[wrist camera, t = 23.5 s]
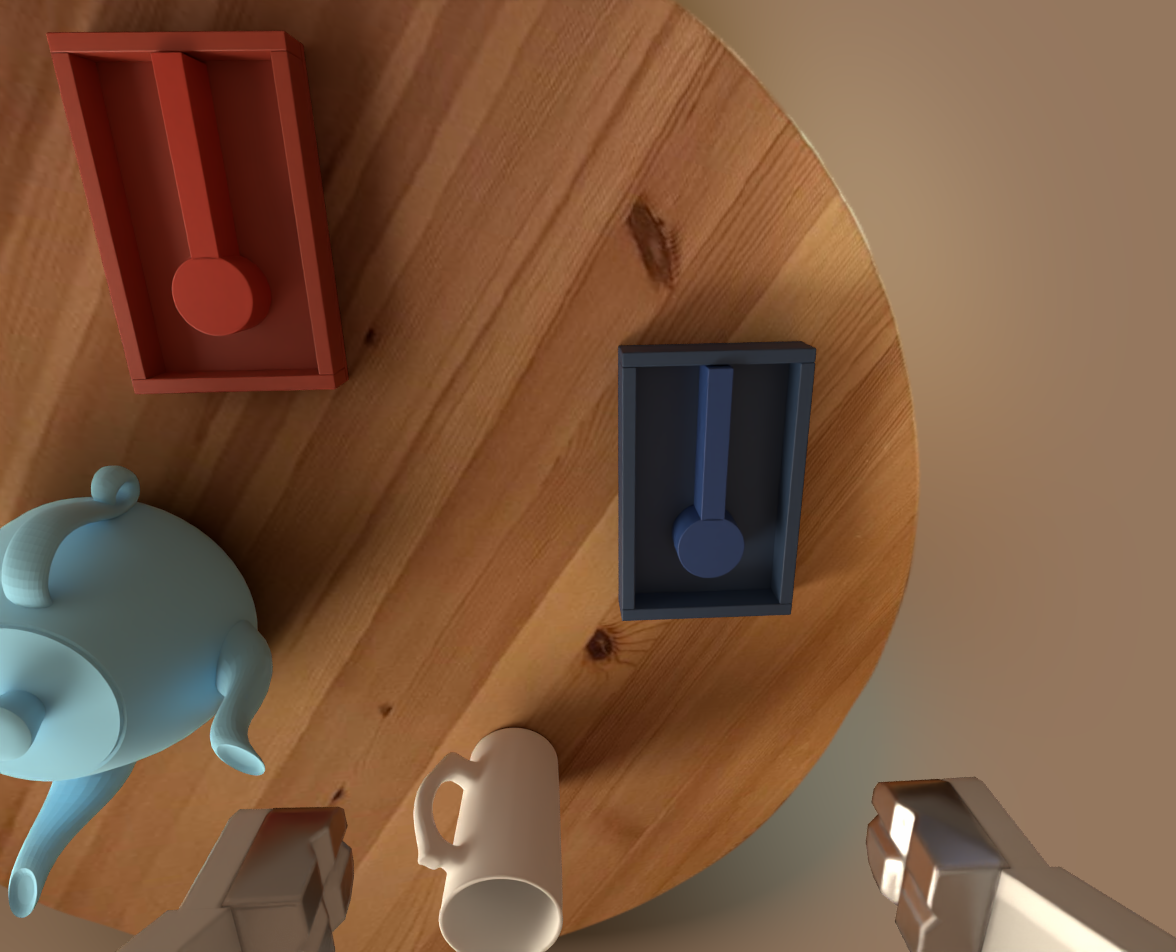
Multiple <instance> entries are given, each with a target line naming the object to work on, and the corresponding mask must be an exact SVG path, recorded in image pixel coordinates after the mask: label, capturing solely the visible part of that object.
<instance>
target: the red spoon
mask: <svg viewBox="0 0 1176 952" xmlns="http://www.w3.org/2000/svg"><path fill="white" fill-rule="evenodd" d="M151 59H152V64H153V69H154V74H155V79H156V84H157V89H158V94H159V99H160V104H161V109H162V114H163V119H164V124H165V129H166V134H167V139H168V144H169V149H170V154H171V159H172V164H173V169H174V174H175V179H176V184H177V189H178V194H179V199H180V204H181V209H182V214H183V219H184V224H185V229H186V234H187V239H188V244H189V249H190V254H191V258H189V259H188V260H186V261H185V262H183V263H182V264H181V265H180V266H179V268H178V269H177V271H176V273H175V275H174V278H173V281H172V295H173V300H174V303H175V305H176V308H177V309H178V311H179V313H180V314H181V316H182V317H183V318H184V319H185V320H186V321H187V322H188V323H189V324H190V325H191V326H192V327H194V328H195V329H197V330H199V331H201V332H203V333H205V334H209V335H213V336H227V335H231V334H235V333H238V332H241V331H244V330H247V329H250V328H253V327H255V326H257V325H258V324H259V323H261V322H262V321H263V320H264V319H265V317H266V316H267V314H268V312H269V309H270V306H271V290H270V286H269V283H268V281H267V279H266V277H265V275H264V274H263V272H262V271H261V270H260V269H259V268H258V267H257V266H256V265H255V264H254V263H253V262H251V261H250V260H248V259H247V258H245V257H242V256H240V253H239V247H238V241H237V236H236V230H235V224H234V219H233V213H232V207H231V202H230V196H229V190H228V185H227V179H226V173H225V168H224V162H223V156H222V151H221V145H220V139H219V133H218V128H217V122H216V116H215V111H214V105H213V99H212V94H211V88H210V82H209V77H208V71H207V65H206V64H204V63H202V62H200V61H198V60H196V59H194V58H192V57H190V56H188V55H185V54H183V53H181V52H151Z"/></svg>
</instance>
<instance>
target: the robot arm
mask: <svg viewBox="0 0 1176 952" xmlns="http://www.w3.org/2000/svg"><path fill="white" fill-rule="evenodd" d="M872 804H873V806H874V808H875V810H876V811H877V813H878V815H877V816H876V817H875V818H874V819H873V820H872V821H871V822H870V823H869V824H868V829H867V837H866V846H867V854H868V861H869V865H870V868H871V871H872V874H873V877H874V879H875V881H876V883H877V886H878V888H879V890H880V892H881V893H882V894H883V895H885V896H886V897H887V898H888V899H889V900H891V901H892V902H893V903H894V904H896V905H897V906H898V907H897V913H896V919H895V923H896V925H897V927H898V929H899V931H900V933H901V935H902V937H903V939H904V940H905V943H906V945H907V947H908V949H909V951H910V952H1176V938H1175V937H1173V936H1172V935H1170V934H1169V933H1167V932H1166V931H1164V930H1162V929H1161V928H1159V927H1157V926H1156V925H1154V924H1153V923H1151V922H1149V921H1148V920H1146V919H1144V918H1142V917H1141V916H1140V915H1138V914H1136V913H1134V912H1133V911H1131V910H1130V909H1128V908H1126V907H1125V906H1123V905H1121V904H1120V903H1118V902H1117V901H1115V900H1113V899H1112V898H1110V897H1108V896H1107V895H1105V894H1103V893H1102V892H1100V891H1099V890H1097V889H1095V888H1094V887H1092V886H1090V885H1089V884H1087V883H1086V882H1084V881H1082V880H1081V879H1079V878H1078V877H1076V876H1074V875H1073V874H1071V873H1069V872H1068V871H1066V870H1065V869H1063V868H1061V867H1049V865H1048V864H1047V863H1046V861H1045V860H1044V859H1043V858H1042V856H1041V855H1040V854H1039V853H1038V851H1037V850H1036V849H1035V847H1034V846H1033V845H1032V844H1031V842H1030V841H1029V840H1028V838H1027V837H1026V836H1025V835H1024V833H1023V832H1022V831H1021V830H1020V828H1019V827H1018V826H1017V824H1016V823H1015V822H1014V821H1013V819H1012V818H1011V817H1010V816H1009V814H1008V813H1007V812H1006V810H1005V809H1004V808H1003V807H1002V805H1001V804H1000V803H999V802H998V800H997V799H996V798H995V797H994V795H993V794H992V793H991V791H990V790H989V789H988V788H987V786H986V785H985V784H984V783H983V782H982V781H981V780H979V779H978V778H976V777H964V778H946V779H942V780H940V779H930V780H911V781H894V782H878V784H877V785H876V787H875V788H874V791H873V796H872ZM346 829H347V821H346V817H345V812H344V809H343V808H340V807H300V808H273V809H240V810H238V811H237V812H236V813H235V814H234V815H233V816H232V817H231V818H230V819H229V821H228V823H227V824H226V826H225V828H224V830H223V831H222V833H221V835H220V837H219V839H218V840H217V842H216V844H215V846H214V847H213V849H212V851H211V853H210V855H209V856H208V858H207V860H206V862H205V863H204V865H203V867H202V869H201V870H200V872H199V874H198V876H197V878H196V879H195V881H194V883H193V885H192V886H191V888H190V890H189V892H188V894H187V895H186V897H185V899H184V901H183V902H182V904H181V906H180V908H179V910H168V911H166V912H165V913H164V914H162V915H161V916H160V917H159V918H157V919H156V920H155V921H154V922H152V923H151V924H150V925H148V926H147V927H146V928H145V929H143V930H142V931H141V932H140V933H138V934H137V935H136V936H134V937H133V938H132V939H131V940H129V941H128V942H127V943H126V944H124V945H123V946H122V947H120V948H119V949H118V950H117V951H115V952H335V946H334V941H333V935H332V932H333V931H334V930H335V929H336V928H337V927H338V926H339V925H340V924H341V923H342V922H343V921H344V920H345V917H346V914H347V910H348V907H349V904H350V900H351V893H352V886H353V879H354V861H353V855H352V849H351V848H350V847H349V846H348V845H347V844H346V843H345V842H343V841H342V840H343V838H344V835H345V832H346Z"/></svg>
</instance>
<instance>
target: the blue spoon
mask: <svg viewBox="0 0 1176 952" xmlns="http://www.w3.org/2000/svg"><path fill="white" fill-rule="evenodd" d="M733 374H734V368H732V367H731V366H730V365H700V369H699V392H698V415H697V438H696V460H695V483H694V504H693V505H691V506H689V507H687V508H686V509H684V510H683V511H682V512H681V513H680V514H679V515H678V517H677V518H676V520H675V521H674V524H673V527H672V541H673V543H674V546H675V549H676V552H677V554H678V557H679V560H680V562H681V564H682V565H683V567H684V568H685V569H686V570H687V571H689V572H690V573H692V574H694V575H696V576H699V577H703V578H714V577H719V576H722V575H724V574H726V573H728V572H730V571H731V570H732V569H733V568H734V567H735V566H736V565H737V564H738V563H739V561H740V560H741V558H742V556H743V553H744V548H745V542H744V537H743V534H742V532H741V530H740V529H739V527H738V525H737V524H736V522H735V520H734V519H733V517H732V516H731V514H730V513H729V512H728V511H727V510H726V509H725V505H726V489H727V472H728V456H729V440H730V423H731V407H732V391H733Z"/></svg>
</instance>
